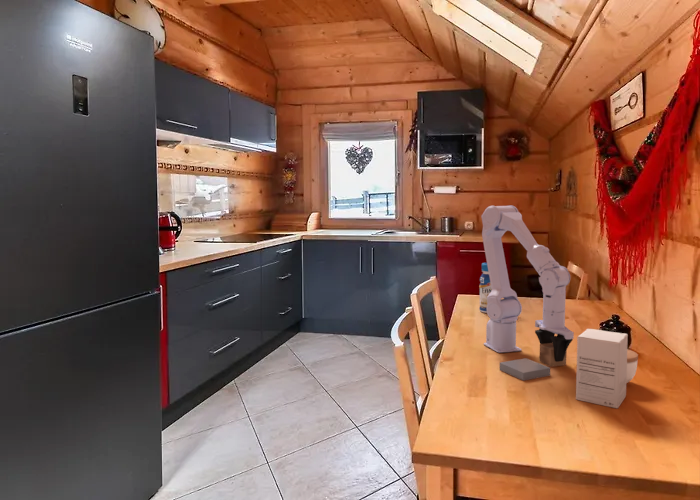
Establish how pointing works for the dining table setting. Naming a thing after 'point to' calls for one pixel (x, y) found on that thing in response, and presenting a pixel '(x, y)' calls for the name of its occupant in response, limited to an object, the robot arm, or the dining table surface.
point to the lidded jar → (631, 364)
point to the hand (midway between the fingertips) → (552, 358)
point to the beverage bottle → (484, 288)
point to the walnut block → (550, 355)
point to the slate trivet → (525, 369)
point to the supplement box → (601, 367)
